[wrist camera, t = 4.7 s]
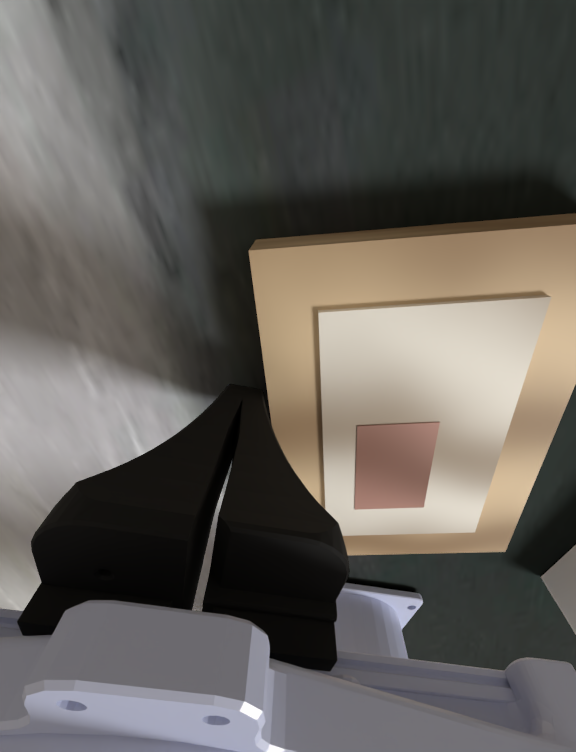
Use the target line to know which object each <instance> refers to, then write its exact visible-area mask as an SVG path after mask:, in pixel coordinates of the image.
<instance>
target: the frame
mask: <svg viewBox="0 0 576 752" xmlns="http://www.w3.org/2000/svg"><path fill="white" fill-rule="evenodd" d="M249 258H250V266H251V273H252V281H253V288H254V296H255V303H256V311H257V318H258V326H259V333H260V341H261V348H262V356H263V363H264V371H265V378H266V386H267V393H268V401H269V408H270V416H271V423H272V428H273V431H274V433H275V436H276V438H277V440H278V442H279V445H280V447H281V449H282V451H283V453H284V455H285V456H286V458H287V460H288V462H289V463H290V465H291V467H292V468H293V470H294V471H295V473H296V474H297V476H298V477H299V479H300V480H301V481H302V483H303V484H304V485H305V487H306V488H307V490H308V491H309V492H310V493H311V495H312V496H313V497H314V498H315V499H316V501H317V502H318V503H319V504H320V505H321V506H322V507H323V508H324V509H325V510H326V511H327V512H328V513H329V514H330V515H331V516H332V517H333V518H334V519H335V520H336V521H337V522H338V523H339V526H340V529H341V532H342V536H343V539H344V543H345V546H346V550H347V555H383V554H427V553H472V552H505V551H506V549H507V547H508V544H509V542H510V539H511V537H512V535H513V532H514V530H515V527H516V525H517V523H518V520H519V518H520V515H521V513H522V511H523V508H524V506H525V503H526V501H527V499H528V496H529V494H530V492H531V489H532V487H533V484H534V482H535V480H536V477H537V475H538V472H539V470H540V468H541V465H542V463H543V460H544V458H545V456H546V453H547V451H548V449H549V446H550V444H551V441H552V439H553V437H554V434H555V432H556V429H557V427H558V425H559V422H560V420H561V417H562V415H563V413H564V410H565V408H566V406H567V403H568V401H569V398H570V396H571V394H572V391H573V389H574V386H575V384H576V213H572V214H560V215H548V216H536V217H524V218H512V219H500V220H488V221H475V222H463V223H451V224H439V225H427V226H415V227H403V228H390V229H378V230H366V231H354V232H342V233H330V234H318V235H306V236H293V237H281V238H269V239H257V240H255V242H254V243H253V245H252V246H251V248H250V249H249Z"/></svg>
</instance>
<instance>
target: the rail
mask: <svg viewBox="0 0 576 752" xmlns="http://www.w3.org/2000/svg"><path fill="white" fill-rule="evenodd" d="M541 579H542V580H543V582H544V583H545V585H546V587H547V588H548V590H549V592H550V593H551V595H552V597H553V598H554V600H555V601H556V603H557V605H558V606H559V608H560V610H561V611H562V613H563V614H564V616H565V618H566V619H567V621H568V623H569V624H570V626H571V628H572V629H573V631H574V632H575V634H576V545H575V546H574V547H573V548H572V549H571V550H569V551H568V552H567V553H566V554H565V555H564V556H563V557H562V558H561V559H560V560H559V561H558V562H556V563H555V564H554V565H553V566H552V567H551V568H550V569H549V570H548V571H547V572H546V573H545V574H543V575H542V576H541Z"/></svg>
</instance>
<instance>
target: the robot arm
mask: <svg viewBox="0 0 576 752" xmlns="http://www.w3.org/2000/svg"><path fill="white" fill-rule="evenodd" d="M232 458H233V460H232ZM231 461H232V468H231V472H230V475H229V479H228V483H227V487H226V491H225V494H224V498H223V501H222V505H221V509H220V512H219V516H218V522H217V528H216V535H215V541H214V548H213V554H212V561H211V567H210V573H209V578H208V582H207V586H206V591H205V595H204V600H203V609H202V612H200V611H193V610H192V608H193V603H194V599H195V594H196V590H197V586H198V581H199V577H200V572H201V568H202V564H203V559H204V555H205V551H206V546H207V542H208V538H209V534H210V529H211V525H212V521H213V517H214V513H215V509H216V506H217V503H218V500H219V497H220V494H221V491H222V488H223V485H224V482H225V479H226V476H227V473H228V470H229V467H230V464H231ZM31 547H32V553H33V556H34V559H35V562H36V566H37V569H38V572H39V575H40V579H41V582H42V583H41V584H40V586H39V588H38V589H37V591H36V592H35V594H34V595H33V597H32V599H31V600H30V602H29V603H28V605H27V606H26V608H25V610H24V611H17V610H9V609H1V608H0V752H576V671H575V670H574V668H573V666H572V665H571V664H569V663H568V662H562V661H555V660H547V659H539V658H521V659H518V660H516V661H513V662H512V663H511V664H510V665H509V666H508V667H507V668H506V670H505V671H502V670H494V669H486V668H478V667H470V666H462V665H454V664H446V663H438V662H429V661H421V660H413V659H408V656H407V651H406V647H405V643H404V638H403V634H402V628H403V627H404V626H405V625H406V624H407V622H408V621H409V620H410V619H411V617H412V616H413V615H414V614H415V612H416V611H417V610H418V609H419V608H420V606H421V605H422V604H423V600H422V597H421V595H420V594H419V593H415V592H408V591H401V590H394V589H387V588H380V587H373V586H366V585H359V584H352V583H346V581H347V579H348V575H349V572H350V571H349V561H348V555H347V550H346V546H345V543H344V539H343V536H342V532H341V529H340V526H339V523H338V522H337V521H336V520H335V519H334V518H333V517H332V516H331V515H330V514H329V513H328V512H327V511H326V510H325V509H324V508H323V507H322V506H321V505H320V504H319V503H318V502H317V501H316V499H315V498H314V497H313V496H312V495H311V493H310V492H309V491H308V490H307V488H306V487H305V485H304V484H303V483H302V481H301V480H300V479H299V477H298V476H297V474H296V473H295V471H294V470H293V468H292V467H291V465H290V463H289V462H288V460H287V458H286V456H285V455H284V453H283V451H282V449H281V447H280V445H279V442H278V440H277V438H276V436H275V433H274V431H273V428H272V425H271V422H270V419H269V416H268V413H267V409H266V405H265V399H264V392H263V391H262V390H261V389H255V388H250V387H244V386H239V385H234V384H229V385H228V386H227V387H226V388H225V389H224V391H223V392H222V393H221V394H220V395H219V397H218V398H217V399H216V400H215V401H214V402H213V403H212V404H211V405H210V406H209V407H208V408H207V409H206V410H205V411H204V412H203V413H202V414H201V415H199V416H198V417H197V418H196V419H195V420H194V421H192V422H191V423H190V424H189V425H188V426H186V427H185V428H184V429H182V430H181V431H180V432H178V433H177V434H176V435H174V436H173V437H171V438H170V439H168V440H167V441H165V442H164V443H162V444H160V445H159V446H157V447H155V448H154V449H152V450H150V451H148V452H147V453H145V454H143V455H141V456H139V457H137V458H135V459H133V460H131V461H129V462H127V463H125V464H122V465H120V466H118V467H115V468H113V469H111V470H108V471H105V472H103V473H100V474H97V475H95V476H92V477H89V478H87V479H84V480H81V481H78V482H76V483H75V485H74V486H73V487H72V488H71V489H70V490H69V491H68V492H67V493H66V494H65V495H64V496H63V497H62V499H61V500H60V501H59V502H58V503H57V504H56V506H55V507H54V508H53V510H52V511H51V512H50V514H49V515H48V516H47V518H46V519H45V520H44V522H43V523H42V524H41V526H40V527H39V528H38V530H37V531H36V532H35V534H34V536H33V538H32V541H31Z"/></svg>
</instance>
